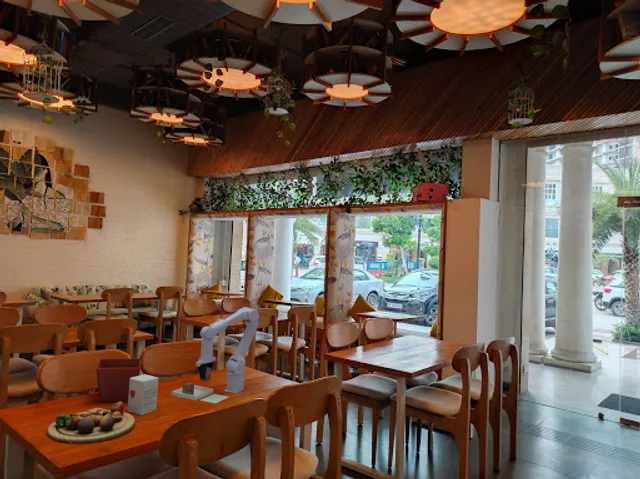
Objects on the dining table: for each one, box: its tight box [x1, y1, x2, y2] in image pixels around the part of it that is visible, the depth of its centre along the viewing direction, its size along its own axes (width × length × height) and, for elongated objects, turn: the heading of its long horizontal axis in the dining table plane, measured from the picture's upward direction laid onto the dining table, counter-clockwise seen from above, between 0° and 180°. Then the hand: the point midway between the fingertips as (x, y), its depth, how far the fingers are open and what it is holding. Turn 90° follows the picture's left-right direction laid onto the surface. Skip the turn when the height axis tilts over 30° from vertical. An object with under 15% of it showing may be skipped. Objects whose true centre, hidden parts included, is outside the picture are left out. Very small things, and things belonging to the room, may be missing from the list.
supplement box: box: [127, 374, 159, 416], centre depth 218 cm, size 9×9×15 cm
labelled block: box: [198, 367, 212, 383], centre depth 245 cm, size 4×4×6 cm
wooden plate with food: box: [46, 401, 136, 444], centre depth 196 cm, size 32×32×8 cm
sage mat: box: [200, 393, 229, 404], centre depth 240 cm, size 12×9×1 cm
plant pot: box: [95, 358, 142, 403], centre depth 234 cm, size 19×19×17 cm
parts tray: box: [171, 384, 214, 401], centre depth 245 cm, size 15×14×2 cm
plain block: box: [181, 382, 195, 395], centre depth 241 cm, size 4×4×6 cm
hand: (205, 377), depth 245 cm, fingers closed on labelled block, 4 cm apart
